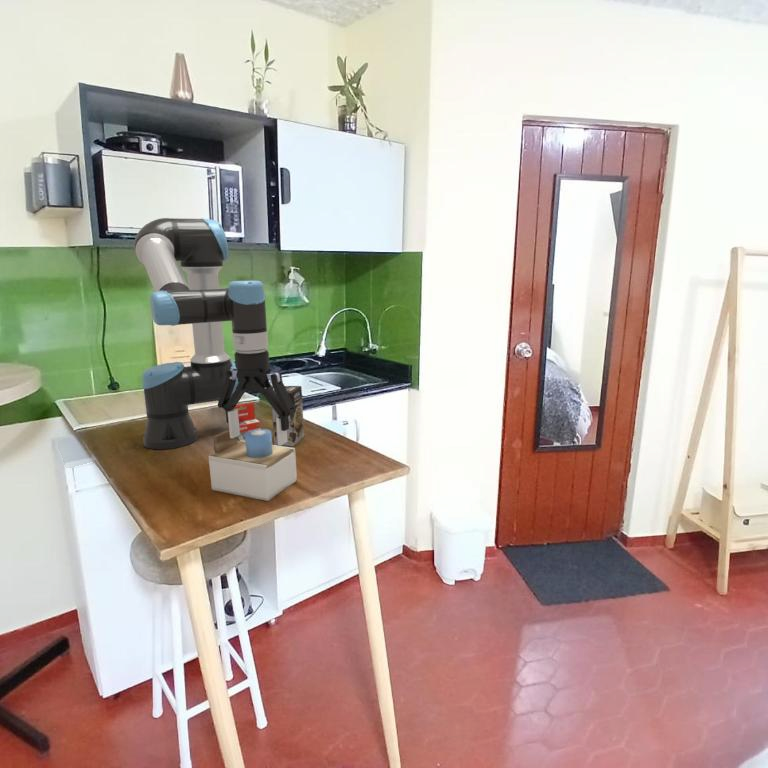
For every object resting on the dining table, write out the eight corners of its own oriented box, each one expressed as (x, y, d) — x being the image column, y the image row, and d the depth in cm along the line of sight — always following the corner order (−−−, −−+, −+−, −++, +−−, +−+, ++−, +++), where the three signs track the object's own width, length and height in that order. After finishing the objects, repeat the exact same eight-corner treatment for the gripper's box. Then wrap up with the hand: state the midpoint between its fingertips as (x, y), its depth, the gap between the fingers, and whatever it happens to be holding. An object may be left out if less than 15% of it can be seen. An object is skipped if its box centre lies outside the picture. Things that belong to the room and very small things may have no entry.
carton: (211, 489, 123) (208, 456, 121) (244, 471, 133) (241, 440, 131) (267, 501, 116) (265, 466, 114) (297, 480, 127) (295, 448, 125)
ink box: (263, 455, 144) (259, 404, 141) (235, 461, 140) (230, 409, 137) (258, 451, 147) (254, 401, 144) (231, 457, 143) (226, 406, 139)
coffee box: (294, 446, 150) (291, 392, 147) (273, 445, 152) (269, 392, 148) (305, 436, 159) (302, 385, 155) (285, 435, 160) (282, 384, 157)
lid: (210, 458, 122) (208, 438, 120) (238, 443, 131) (237, 425, 130) (266, 467, 115) (264, 447, 114) (292, 451, 125) (291, 432, 123)
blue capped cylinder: (241, 455, 120) (239, 435, 119) (257, 447, 126) (255, 427, 124) (262, 459, 118) (260, 438, 117) (277, 450, 123) (276, 430, 122)
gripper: (196, 350, 118) (205, 438, 123) (288, 356, 108) (294, 452, 113) (218, 345, 125) (226, 429, 129) (307, 350, 115) (312, 441, 120)
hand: (258, 440), depth 121 cm, fingers open, 13 cm apart
